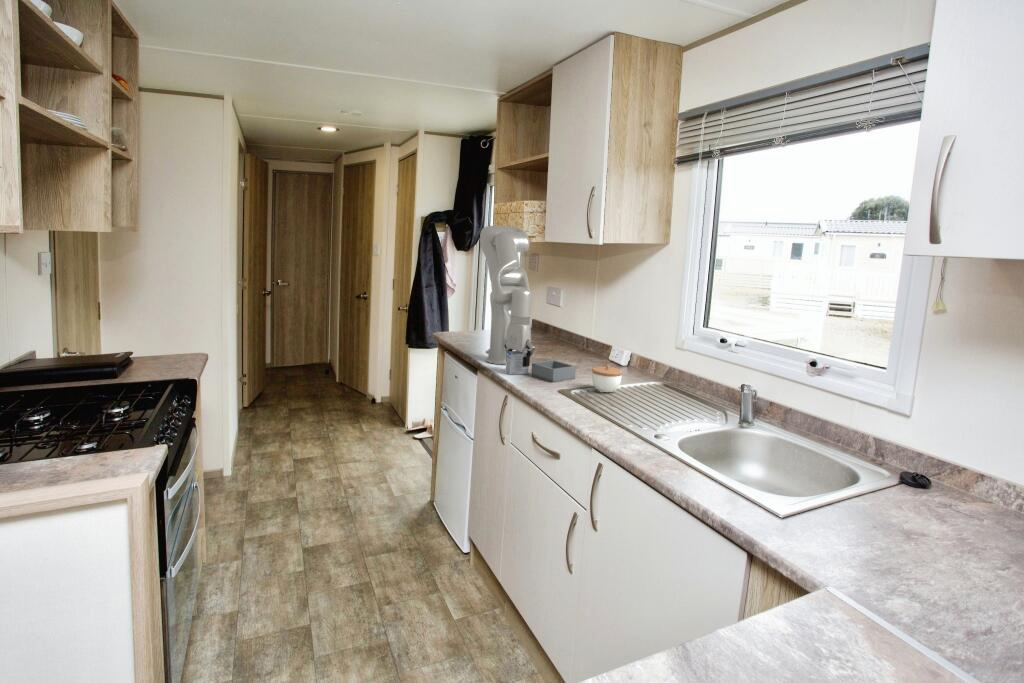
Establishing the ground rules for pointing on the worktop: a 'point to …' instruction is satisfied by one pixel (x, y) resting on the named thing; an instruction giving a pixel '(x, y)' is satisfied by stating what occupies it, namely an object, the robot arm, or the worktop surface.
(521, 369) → the medicine box
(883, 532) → the worktop surface
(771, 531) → the worktop surface
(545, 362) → the bin
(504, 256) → the robot arm
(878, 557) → the worktop surface
